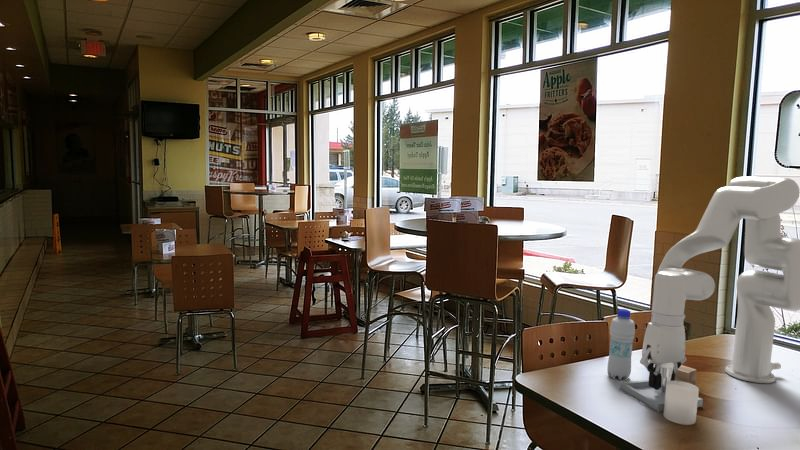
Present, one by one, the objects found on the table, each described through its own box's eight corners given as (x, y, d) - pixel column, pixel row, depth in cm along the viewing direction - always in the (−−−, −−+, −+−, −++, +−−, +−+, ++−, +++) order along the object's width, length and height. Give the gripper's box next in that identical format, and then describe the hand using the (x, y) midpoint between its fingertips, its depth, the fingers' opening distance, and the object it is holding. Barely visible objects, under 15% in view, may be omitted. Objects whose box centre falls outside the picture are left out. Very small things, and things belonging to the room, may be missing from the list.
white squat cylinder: (679, 410, 139) (682, 379, 139) (702, 423, 133) (705, 390, 132) (656, 413, 137) (659, 381, 137) (678, 426, 131) (681, 393, 130)
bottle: (633, 382, 157) (639, 313, 155) (608, 379, 158) (613, 310, 156) (628, 374, 163) (634, 307, 161) (604, 371, 165) (609, 305, 162)
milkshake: (670, 391, 148) (674, 355, 147) (670, 398, 143) (675, 361, 142) (651, 387, 150) (655, 351, 149) (651, 394, 145) (655, 357, 144)
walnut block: (677, 381, 160) (678, 364, 159) (694, 386, 156) (696, 369, 155) (668, 384, 157) (669, 367, 156) (686, 390, 153) (688, 373, 152)
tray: (661, 385, 155) (662, 378, 155) (702, 406, 142) (702, 399, 142) (619, 389, 151) (620, 382, 151) (657, 411, 138) (657, 404, 138)
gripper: (682, 313, 151) (675, 379, 153) (630, 316, 146) (624, 384, 148) (704, 321, 143) (697, 390, 145) (651, 324, 138) (644, 395, 140)
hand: (661, 386), depth 146 cm, fingers closed on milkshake, 4 cm apart
